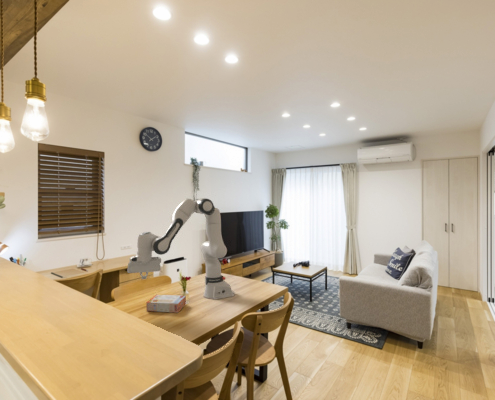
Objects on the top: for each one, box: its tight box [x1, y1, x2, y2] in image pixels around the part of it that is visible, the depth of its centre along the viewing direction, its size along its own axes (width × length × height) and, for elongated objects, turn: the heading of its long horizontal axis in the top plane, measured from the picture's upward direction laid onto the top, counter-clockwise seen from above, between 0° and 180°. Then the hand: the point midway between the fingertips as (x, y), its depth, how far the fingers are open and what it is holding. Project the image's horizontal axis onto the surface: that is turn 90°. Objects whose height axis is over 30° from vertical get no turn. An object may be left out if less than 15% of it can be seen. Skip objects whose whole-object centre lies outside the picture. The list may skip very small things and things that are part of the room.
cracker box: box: [145, 294, 187, 313], centre depth 180 cm, size 14×6×21 cm
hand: (143, 278), depth 181 cm, fingers closed
